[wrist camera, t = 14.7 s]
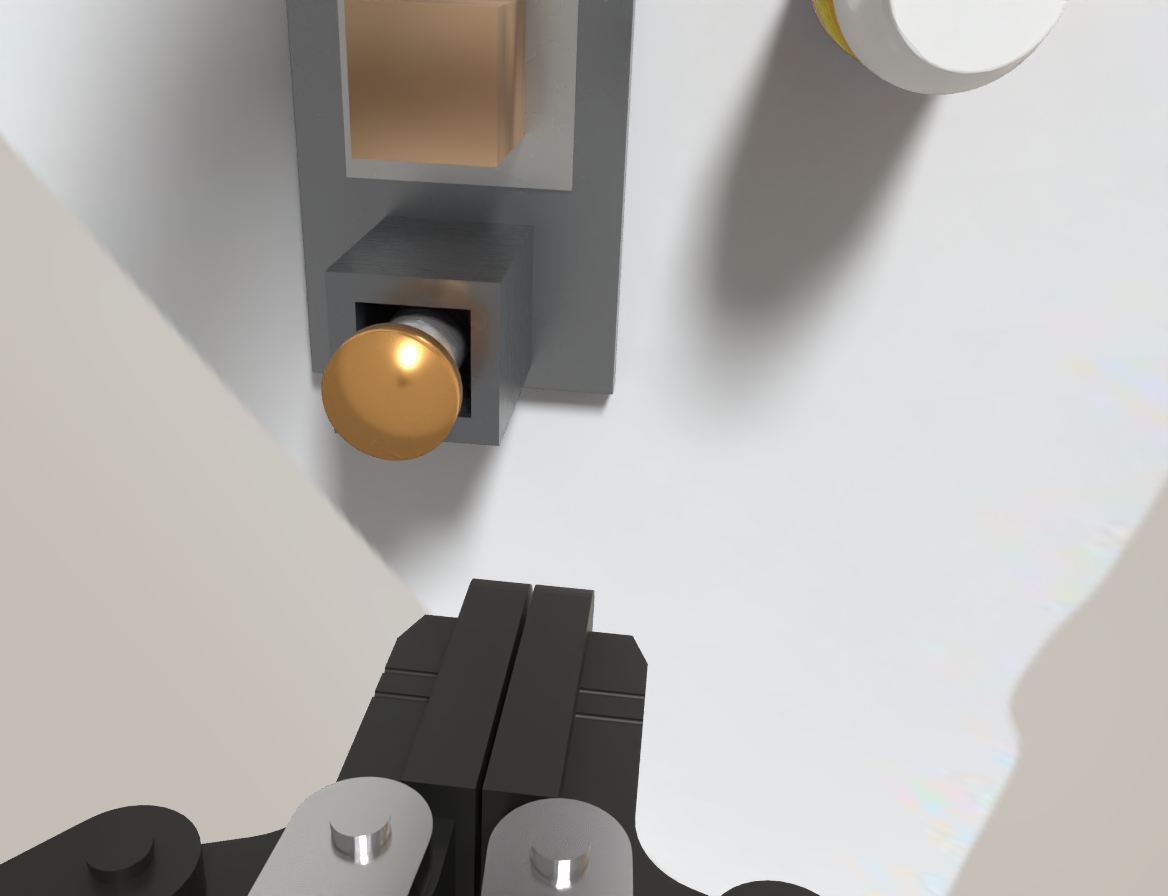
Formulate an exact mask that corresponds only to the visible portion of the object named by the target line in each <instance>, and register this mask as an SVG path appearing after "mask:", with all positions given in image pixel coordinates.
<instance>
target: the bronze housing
mask: <svg viewBox="0 0 1168 896" xmlns="http://www.w3.org/2000/svg"><path fill="white" fill-rule="evenodd" d="M344 11H345V32H346V52H347V73H348V94H349V114H350V135H351V155H352V158H356V159H372V160H389V161H405V162H422V163H438V164H455V165H471V166H488V167H498V166H499V165H500V164H501V162H502V161H503V160H504V159H505V158H506V157H507V156H508V154H509V153H510V152H511V151H512V150H513V149H514V148H515V146H516V145H517V144H518V143H519V142H520V141H521V140H522V139H523V137H524V102H525V40H526V0H344Z"/></svg>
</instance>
